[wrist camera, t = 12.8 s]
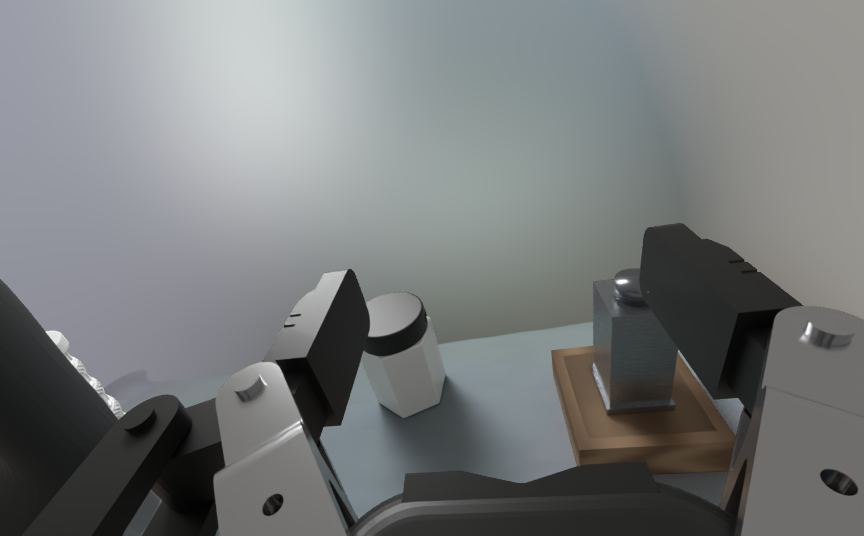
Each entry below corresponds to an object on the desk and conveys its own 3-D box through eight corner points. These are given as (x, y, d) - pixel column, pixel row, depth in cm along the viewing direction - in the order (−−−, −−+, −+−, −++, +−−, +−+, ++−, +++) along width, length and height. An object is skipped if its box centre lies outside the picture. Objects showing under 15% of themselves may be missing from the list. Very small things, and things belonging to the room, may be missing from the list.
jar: (460, 380, 46) (441, 302, 40) (416, 429, 41) (387, 349, 36) (410, 355, 52) (386, 283, 46) (366, 396, 47) (334, 322, 41)
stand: (580, 477, 33) (579, 450, 31) (553, 375, 44) (551, 350, 42) (729, 470, 31) (738, 441, 29) (664, 365, 42) (667, 338, 40)
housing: (606, 415, 34) (609, 304, 28) (589, 369, 38) (588, 265, 32) (674, 410, 33) (693, 294, 27) (648, 364, 37) (658, 256, 31)
